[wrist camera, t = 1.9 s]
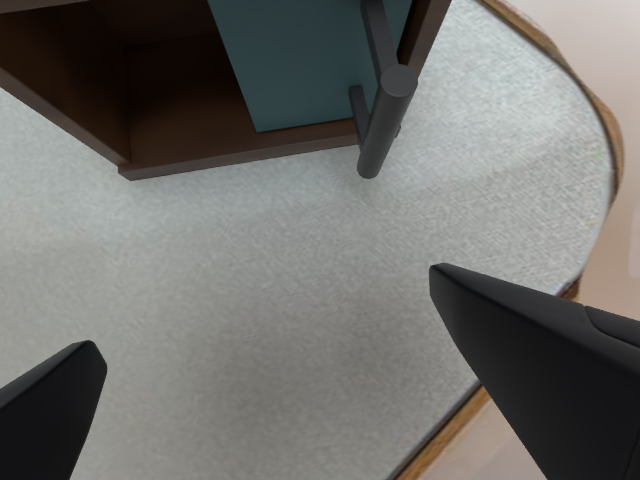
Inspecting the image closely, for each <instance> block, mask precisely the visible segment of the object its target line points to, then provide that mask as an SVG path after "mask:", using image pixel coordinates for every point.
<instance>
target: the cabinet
mask: <svg viewBox="0 0 640 480" xmlns="http://www.w3.org/2000/svg"><path fill="white" fill-rule="evenodd" d="M451 1H452V0H412V3H411V6H410V10H409V13H408V16H407V19H406V23H405V26H404V29H403V33H402V36H401V39H400V43H399V46H398V49H397V52H396V56H397V60H398V64H403V65H406V66H408V67H410V68H411V69H412V70H413V71H414V72H415V73H416V75H417V79H418V77H419V75H420V73H421V70H422V68H423V66H424V63H425V61H426V59H427V57H428V54H429V52H430V50H431V47H432V45H433V43H434V40H435V38H436V36H437V33H438V31H439V29H440V27H441V24H442V22H443V20H444V17H445V15H446V13H447V10H448V8H449V6H450V3H451ZM0 87H1V88H2V89H4V90H5V91H7V92H8V93H10V94H11V95H13V96H14V97H16V98H17V99H19V100H20V101H22V102H23V103H25V104H26V105H28V106H29V107H30V108H32V109H33V110H35V111H36V112H38V113H39V114H41V115H42V116H44V117H45V118H47V119H48V120H50V121H51V122H53V123H54V124H56V125H57V126H59V127H60V128H62V129H63V130H65V131H66V132H68V133H69V134H71V135H72V136H74V137H75V138H77V139H78V140H80V141H81V142H82V143H84V144H85V145H87V146H88V147H90V148H91V149H93V150H94V151H96V152H97V153H99V154H100V155H102V156H103V157H105V158H106V159H108V160H109V161H111V162H112V163H114V164H115V165H117V166H118V173H119V174H120V175H122V176H123V177H125V178H127V179H128V180H130V181H132V180H138V179H145V178H151V177H157V176H163V175H169V174H175V173H181V172H188V171H194V170H200V169H206V168H212V167H218V166H225V165H231V164H237V163H243V162H249V161H255V160H262V159H268V158H274V157H280V156H286V155H292V154H298V153H305V152H311V151H317V150H323V149H329V148H335V147H342V146H348V145H354V144H359V143H358V138H357V134H356V129H355V124H354V119H353V117H351V118H344V119H338V120H332V121H326V122H319V123H313V124H307V125H301V126H294V127H288V128H282V129H276V130H269V131H263V132H257V131H256V129H255V126H254V124H253V121H252V118H251V116H250V113H249V110H248V108H247V105H246V102H245V100H244V97H243V94H242V92H241V89H240V86H239V84H238V81H237V78H236V76H235V73H234V70H233V68H232V65H231V62H230V60H229V57H228V54H227V52H226V49H225V46H224V44H223V41H222V38H221V36H220V33H219V30H218V27H217V25H216V22H215V19H214V17H213V14H212V11H211V9H210V6H209V3H208V1H207V0H0ZM369 118H370V115H369ZM400 129H401V125H400V126H399V128H398V131H397V133H396V135H395V137H394V138H396V137H397V135H398V133H399V131H400Z"/></svg>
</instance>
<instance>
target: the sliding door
mask: <svg viewBox="0 0 640 480" xmlns="http://www.w3.org/2000/svg"><path fill="white" fill-rule="evenodd" d="M207 1H208V3H209V6H210V9H211V11H212V14H213V17H214V19H215V22H216V25H217V27H218V30H219V33H220V36H221V38H222V41H223V44H224V46H225V49H226V52H227V54H228V57H229V60H230V62H231V65H232V68H233V70H234V73H235V76H236V78H237V81H238V84H239V86H240V89H241V92H242V94H243V97H244V100H245V102H246V105H247V108H248V110H249V113H250V116H251V118H252V121H253V124H254V126H255V129H256V131H257V132H263V131H269V130H276V129H282V128H288V127H294V126H301V125H307V124H313V123H319V122H326V121H332V120H338V119H344V118H351V117H353V119H354V124H355V129H356V134H357V138H358V143H359V148H360V156H359V160H358V163H357V172H358V173H359V175H360V176H362V177H363V178H366V179H371V178H374V177H376V176H377V175H378V173H379V171H380V169H381V167H382V164H383V162H384V160H385V158H386V155H387V153H388V151H389V149H390V146H391V144H392V142H393V140H394V137H395V135H396V133H397V131H398V128H399V126H400V124H401V122H402V119H403V117H404V115H405V113H406V110H407V108H408V106H409V104H410V102H411V99H412V97H413V95H414V93H415V90H416V88H417V85H418V79H417V75H416V73H415V72H414V71H413V70H412V69H411V68H410V67H408V66H406V65H403V64H398V60H397V56H396V52H397V49H398V46H399V43H400V39H401V36H402V33H403V29H404V26H405V23H406V19H407V16H408V13H409V10H410V6H411V3H412V0H207ZM369 115H370V118H369Z"/></svg>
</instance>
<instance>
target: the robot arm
mask: <svg viewBox="0 0 640 480" xmlns="http://www.w3.org/2000/svg"><path fill="white" fill-rule="evenodd" d="M429 286H430V296H431V299H432V301H433V303H434V305H435V307H436V309H437V311H438V312H439V314H440V316H441V318H442V320H443V322H444V324H445V326H446V328H447V330H448V331H449V333H450V335H451V337H452V339H453V341H454V343H455V344H456V346H457V348H458V349H459V351H460V352H461V354H462V355H463V357H464V358H465V360H466V361H467V363H468V364H469V366H470V367H471V369H472V370H473V372H474V373H475V374H476V376H477V377H478V379H479V380H480V382H481V383H482V385H483V386H484V388H485V389H486V391H487V392H488V393H489V395H490V396H491V398H492V399H493V401H494V402H495V404H496V405H497V407H498V408H499V410H500V411H501V413H502V414H503V415H504V417H505V418H506V420H507V421H508V423H509V424H510V426H511V427H512V429H513V430H514V432H515V433H516V434H517V436H518V437H519V439H520V440H521V442H522V443H523V445H524V446H525V448H526V449H527V450H528V452H529V453H530V455H531V456H532V458H533V459H534V461H535V462H536V464H537V465H538V467H539V468H540V470H541V471H542V473H543V474H544V475H545V477H546V478H547V480H640V321H637V320H634V319H630V318H627V317H623V316H620V315H616V314H613V313H610V312H606V311H603V310H600V309H596V308H593V307H590V306H585V307H584V306H583V305H582V304H580V303H576V302H573V301H570V300H566V299H563V298H560V297H557V296H553V295H550V294H547V293H543V292H540V291H537V290H533V289H530V288H527V287H524V286H520V285H517V284H514V283H510V282H507V281H504V280H500V279H497V278H494V277H491V276H487V275H484V274H481V273H477V272H474V271H471V270H467V269H464V268H461V267H458V266H454V265H451V264H448V263H440V264H436V265H432V266H431V267H430V268H429ZM106 375H107V364H106V362H105V360H104V358H103V356H102V355H101V353H100V351H99V350H98V348H97V346H96V344H95V343H94V342H93V341H90V340H86V341H81V342H77V343H73V344H71V345H69V346H68V347H66V348H64V349H63V350H61V351H60V352H58V353H57V354H55V355H53V356H52V357H50V358H49V359H47V360H45V361H44V362H42V363H41V364H39V365H37V366H36V367H34V368H33V369H31V370H30V371H28V372H26V373H25V374H23V375H22V376H20V377H18V378H17V379H15V380H14V381H12V382H10V383H9V384H7V385H6V386H4V387H3V388H1V389H0V480H70V477H71V475H72V472H73V470H74V467H75V465H76V463H77V460H78V458H79V455H80V453H81V450H82V448H83V446H84V443H85V441H86V438H87V435H88V433H89V430H90V427H91V424H92V421H93V418H94V414H95V411H96V408H97V404H98V401H99V398H100V395H101V391H102V388H103V385H104V381H105V378H106Z"/></svg>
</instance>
